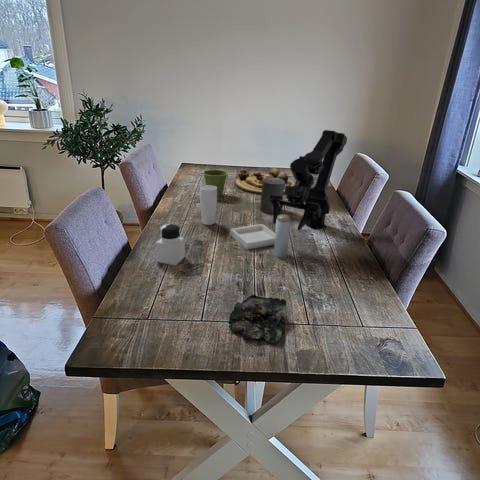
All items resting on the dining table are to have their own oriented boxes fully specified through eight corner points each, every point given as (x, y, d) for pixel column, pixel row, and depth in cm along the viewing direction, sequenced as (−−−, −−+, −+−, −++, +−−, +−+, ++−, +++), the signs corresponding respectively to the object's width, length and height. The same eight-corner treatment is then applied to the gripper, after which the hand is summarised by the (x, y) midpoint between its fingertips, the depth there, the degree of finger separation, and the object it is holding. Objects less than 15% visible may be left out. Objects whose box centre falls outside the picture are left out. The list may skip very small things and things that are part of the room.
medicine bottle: (185, 257, 143) (184, 224, 138) (175, 266, 137) (174, 231, 132) (166, 253, 145) (165, 220, 140) (156, 262, 139) (154, 228, 134)
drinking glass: (214, 227, 168) (214, 190, 162) (197, 225, 169) (197, 189, 163) (218, 221, 174) (219, 186, 168) (202, 219, 175) (202, 184, 169)
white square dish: (261, 229, 168) (262, 223, 166) (280, 243, 156) (281, 237, 155) (229, 235, 162) (230, 229, 161) (246, 249, 150) (247, 243, 149)
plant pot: (232, 194, 206) (232, 172, 202) (218, 200, 197) (218, 177, 193) (212, 190, 212) (212, 167, 208) (197, 195, 203) (197, 172, 198)
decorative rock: (293, 333, 101) (231, 329, 99) (289, 352, 104) (228, 349, 102) (283, 287, 117) (229, 283, 116) (279, 305, 120) (227, 302, 119)
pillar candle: (257, 211, 186) (259, 178, 180) (264, 205, 194) (266, 173, 188) (278, 215, 183) (281, 182, 176) (284, 208, 191) (288, 176, 185)
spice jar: (282, 250, 151) (285, 213, 145) (290, 256, 147) (293, 218, 141) (271, 253, 149) (273, 215, 143) (278, 258, 145) (281, 220, 139)
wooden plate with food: (222, 186, 219) (223, 171, 215) (256, 174, 242) (257, 159, 239) (276, 201, 202) (277, 185, 199) (306, 186, 226) (308, 171, 223)
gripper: (272, 171, 147) (254, 209, 143) (323, 180, 139) (306, 222, 135) (280, 187, 157) (264, 224, 152) (328, 197, 148) (312, 236, 144)
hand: (285, 226), depth 146 cm, fingers open, 9 cm apart
